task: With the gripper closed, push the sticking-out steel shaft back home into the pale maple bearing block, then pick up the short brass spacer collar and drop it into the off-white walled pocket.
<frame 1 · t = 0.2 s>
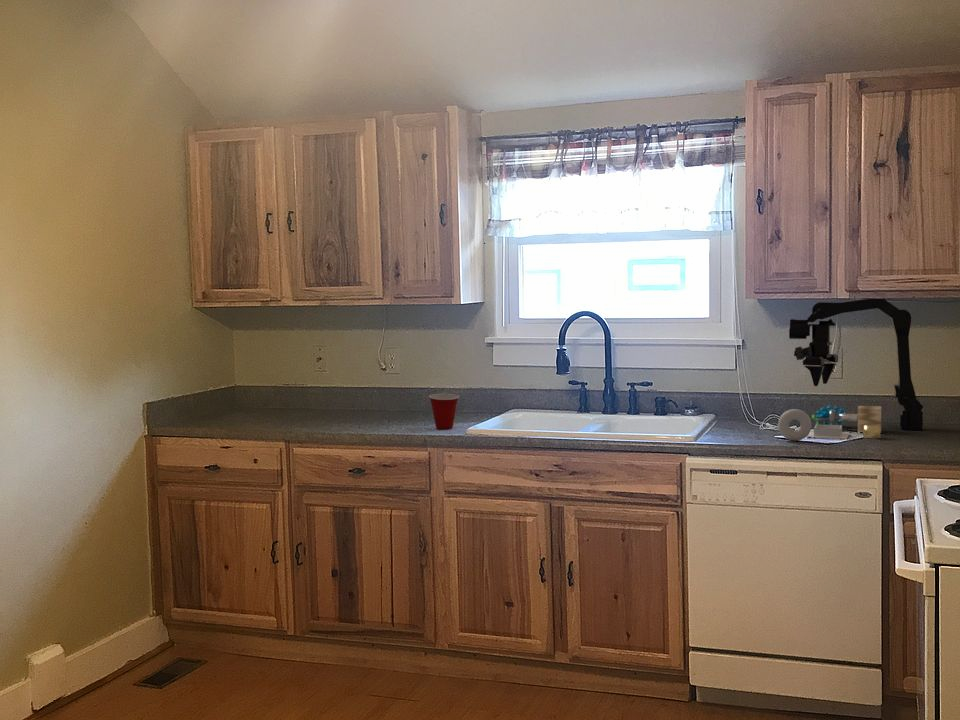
hand: (820, 384, 340), 14 cm above the worktop, tool pointing down, fingers open, 9 cm apart
donut: (794, 441, 310), on the worktop
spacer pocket: (828, 436, 318), on the worktop
shaft: (849, 417, 329), point 4 cm above the worktop, slide at 7.0 cm
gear: (829, 427, 341), on the worktop
plastic cup: (444, 429, 352), on the worktop
spacer: (871, 438, 313), on the worktop
bearing block: (869, 431, 327), on the worktop
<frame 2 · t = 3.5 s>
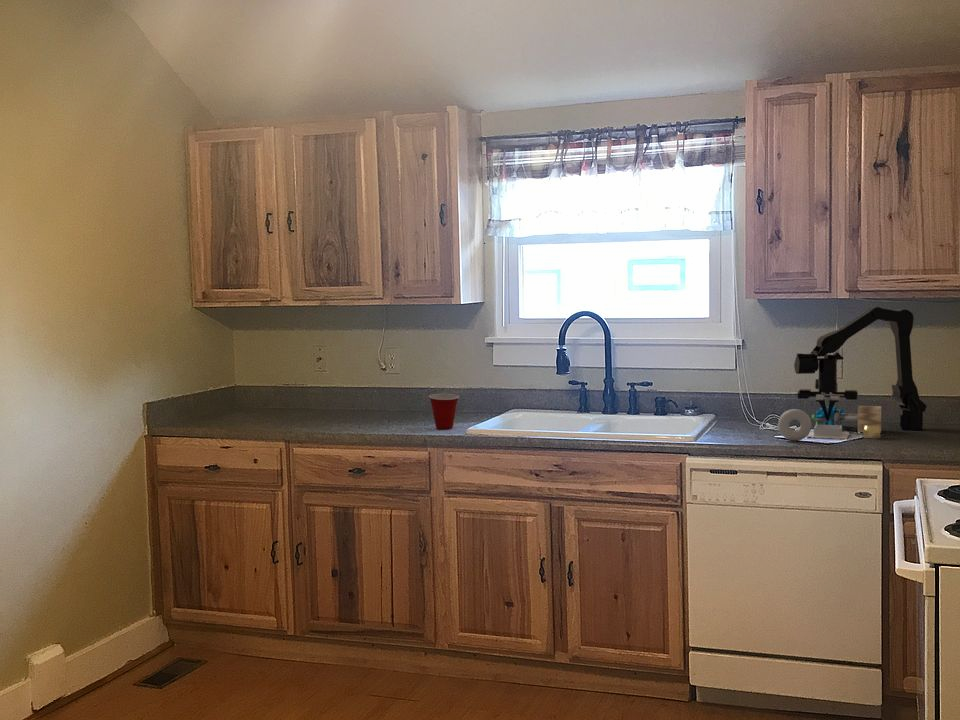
hand: (827, 420, 332), 3 cm above the worktop, tool pointing down, fingers closed
shaft: (854, 417, 328), point 4 cm above the worktop, slide at 5.5 cm, touching gripper
everything else where it was.
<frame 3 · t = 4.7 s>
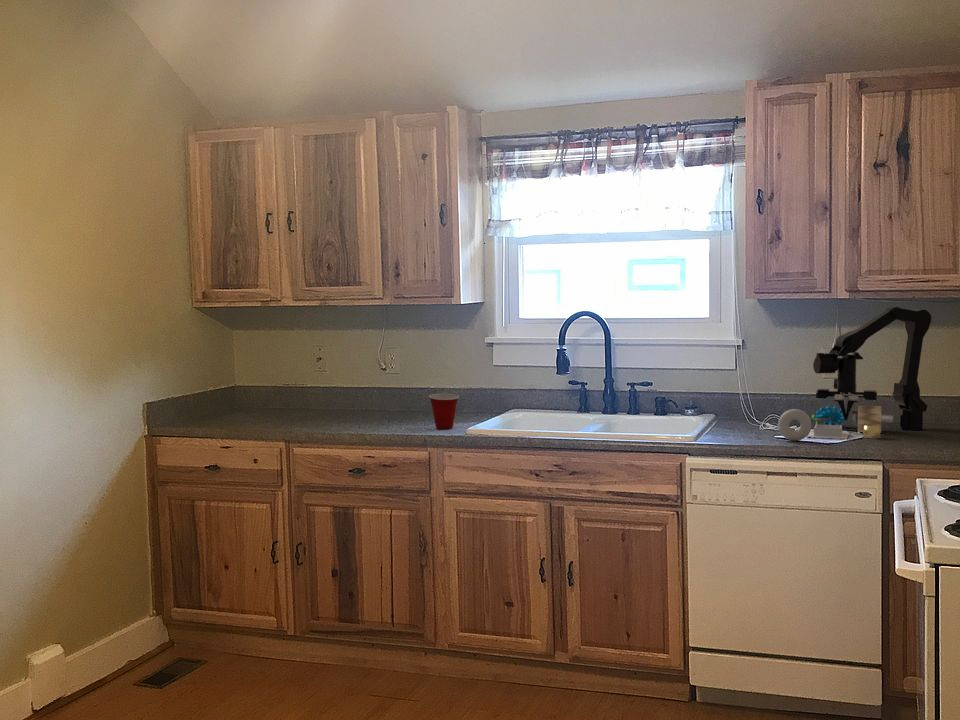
hand: (845, 420, 329), 3 cm above the worktop, tool pointing down, fingers closed
shaft: (872, 418, 326), point 4 cm above the worktop, slide at -0.1 cm, touching gripper
everything else where it was.
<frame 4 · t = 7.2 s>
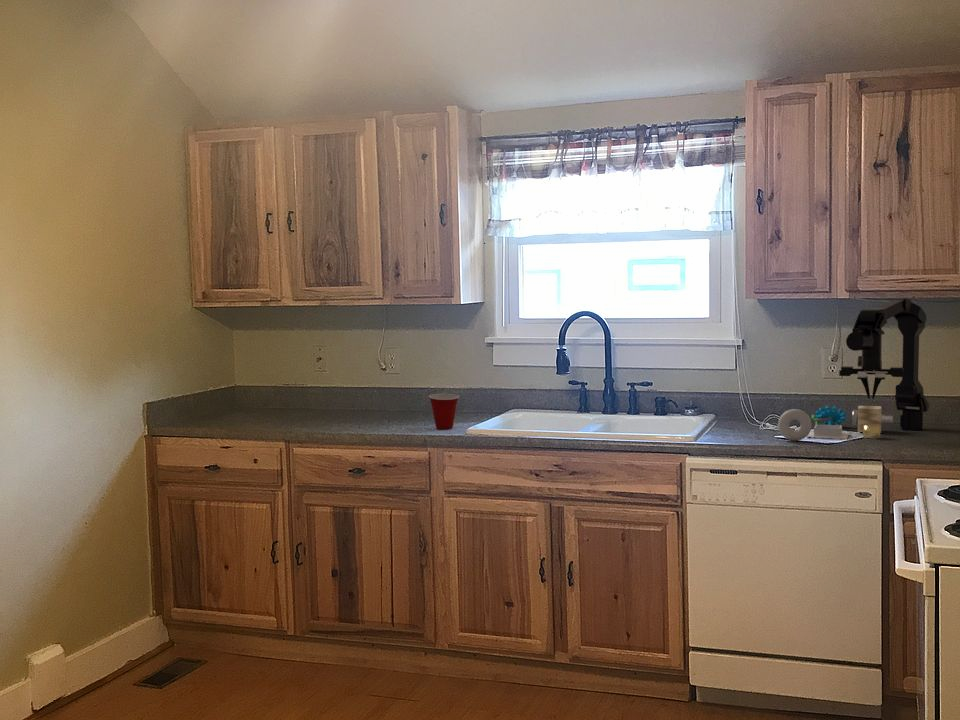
hand: (871, 399, 313), 12 cm above the worktop, tool pointing down, fingers closed
shaft: (872, 418, 326), point 4 cm above the worktop, slide at 0.0 cm
everything else where it was.
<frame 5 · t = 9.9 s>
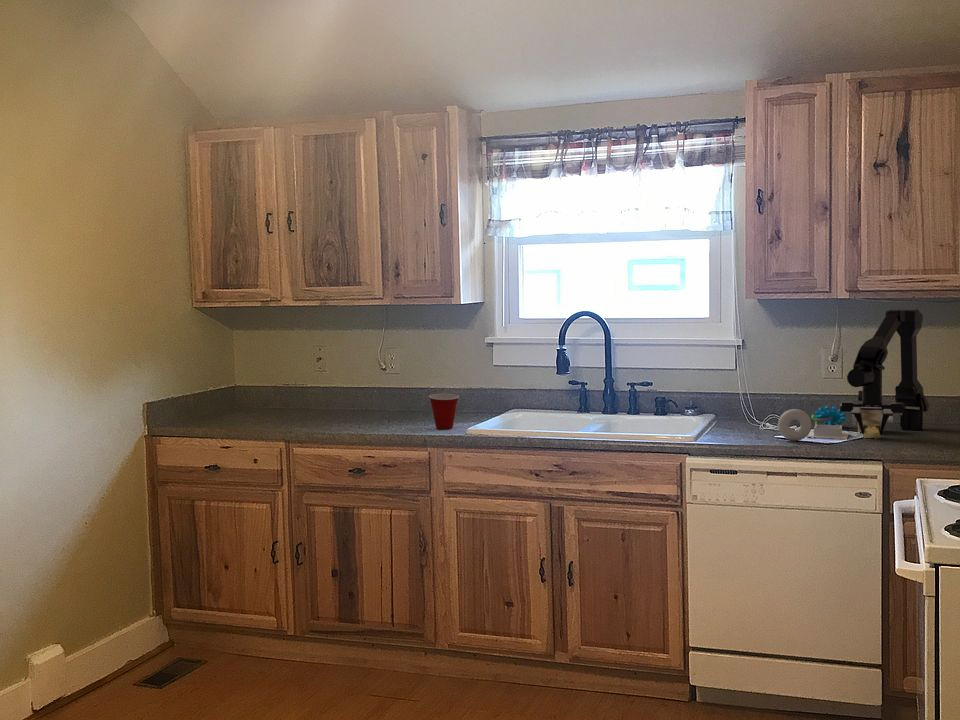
hand: (871, 434, 313), 1 cm above the worktop, tool pointing down, fingers closed on spacer, 5 cm apart
spacer: (871, 437, 313), on the worktop, touching gripper
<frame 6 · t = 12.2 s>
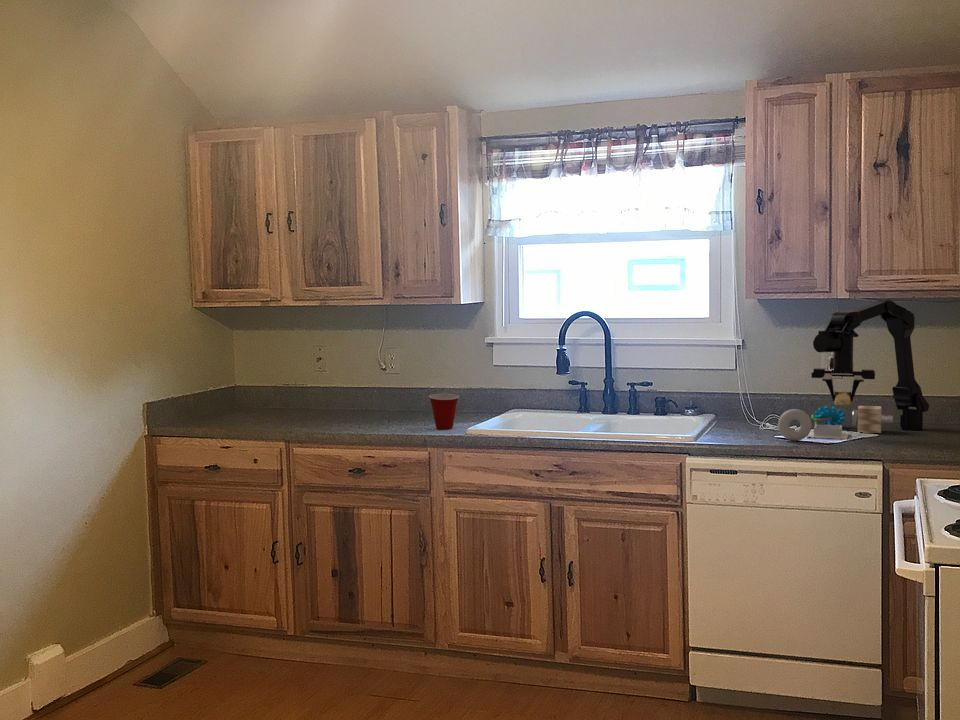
hand: (842, 401, 316), 11 cm above the worktop, tool pointing down, fingers closed on spacer, 5 cm apart
spacer: (842, 404, 316), point 10 cm above the worktop, touching gripper
when the fingers open (4 cm above the worktop, at t = 14.7 s): spacer drops 2 cm, resting on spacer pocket.
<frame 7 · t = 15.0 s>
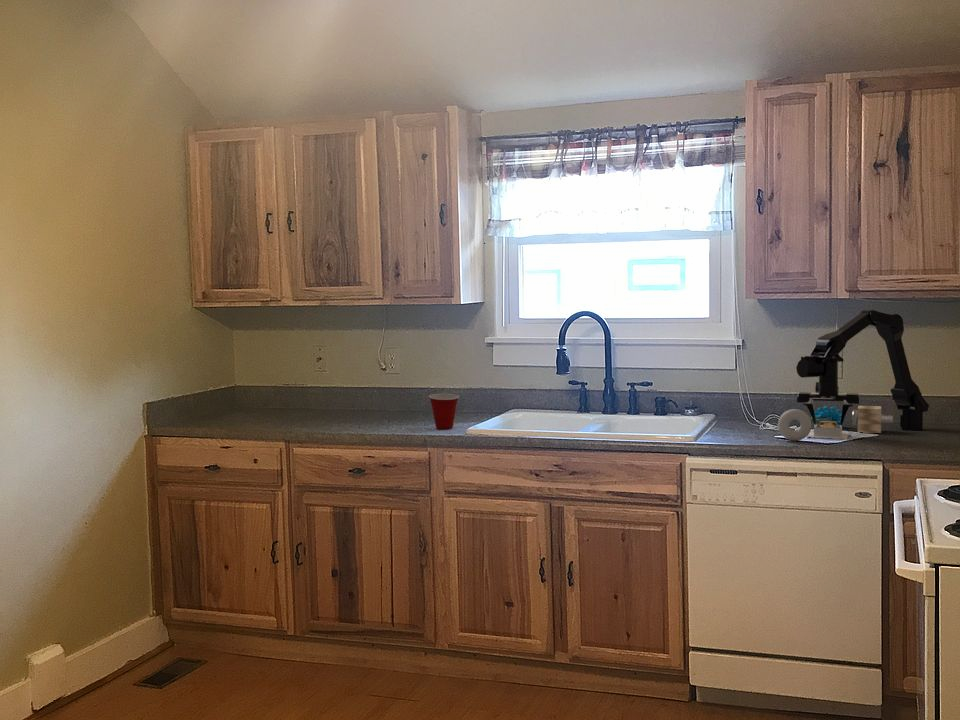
hand: (828, 425, 318), 4 cm above the worktop, tool pointing down, fingers open, 8 cm apart
spacer: (828, 434, 318), point 1 cm above the worktop, touching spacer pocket
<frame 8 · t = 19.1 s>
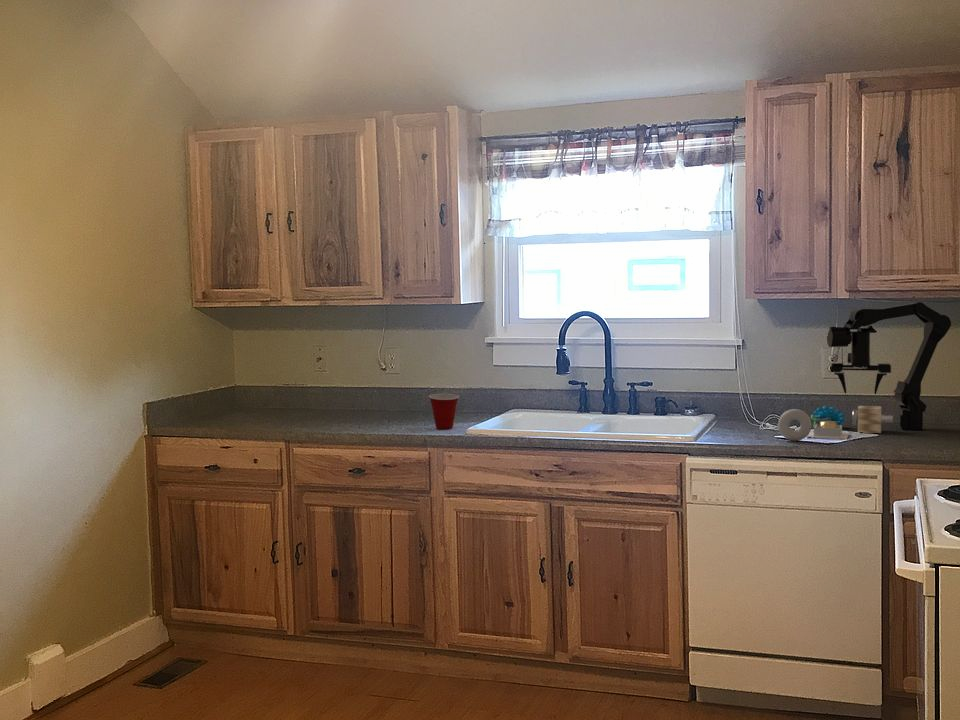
hand: (860, 393, 331), 12 cm above the worktop, tool pointing down, fingers open, 9 cm apart
at the end: shaft slide at 0.0 cm; spacer 0.1 cm off-centre on the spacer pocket, point 0.6 cm above the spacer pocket's base; spacer tilted 0° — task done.
